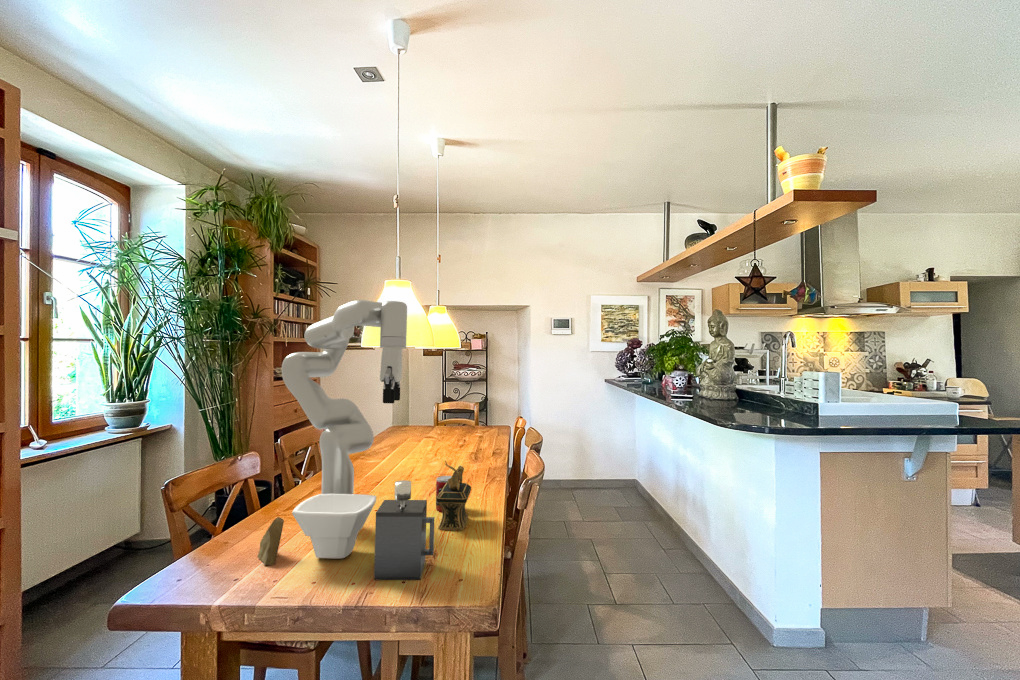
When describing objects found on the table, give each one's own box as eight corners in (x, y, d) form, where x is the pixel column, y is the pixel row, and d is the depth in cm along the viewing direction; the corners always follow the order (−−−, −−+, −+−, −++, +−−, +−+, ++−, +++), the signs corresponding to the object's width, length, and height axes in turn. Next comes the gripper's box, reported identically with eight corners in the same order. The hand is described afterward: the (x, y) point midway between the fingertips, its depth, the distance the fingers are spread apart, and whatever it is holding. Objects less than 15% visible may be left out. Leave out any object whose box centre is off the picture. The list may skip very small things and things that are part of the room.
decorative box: (442, 515, 175) (443, 456, 175) (470, 516, 174) (472, 457, 175) (432, 535, 155) (433, 469, 155) (464, 536, 154) (465, 470, 155)
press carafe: (374, 580, 123) (375, 512, 124) (382, 561, 134) (384, 499, 135) (430, 579, 124) (432, 512, 124) (434, 561, 135) (436, 500, 135)
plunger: (379, 572, 124) (381, 486, 125) (386, 557, 133) (388, 478, 134) (416, 572, 125) (418, 486, 125) (421, 557, 134) (423, 478, 134)
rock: (283, 557, 130) (300, 538, 140) (262, 531, 129) (280, 514, 139) (250, 581, 131) (269, 560, 141) (229, 555, 130) (249, 536, 140)
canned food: (431, 511, 179) (432, 479, 179) (443, 505, 186) (443, 474, 187) (451, 514, 176) (451, 481, 177) (461, 508, 184) (462, 476, 184)
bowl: (313, 541, 148) (315, 492, 148) (380, 544, 147) (382, 494, 147) (283, 568, 129) (284, 512, 129) (359, 571, 128) (361, 514, 129)
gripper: (385, 343, 160) (384, 399, 159) (374, 342, 143) (372, 404, 142) (410, 344, 160) (408, 399, 160) (401, 342, 143) (399, 404, 142)
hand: (391, 401), depth 151 cm, fingers open, 9 cm apart
